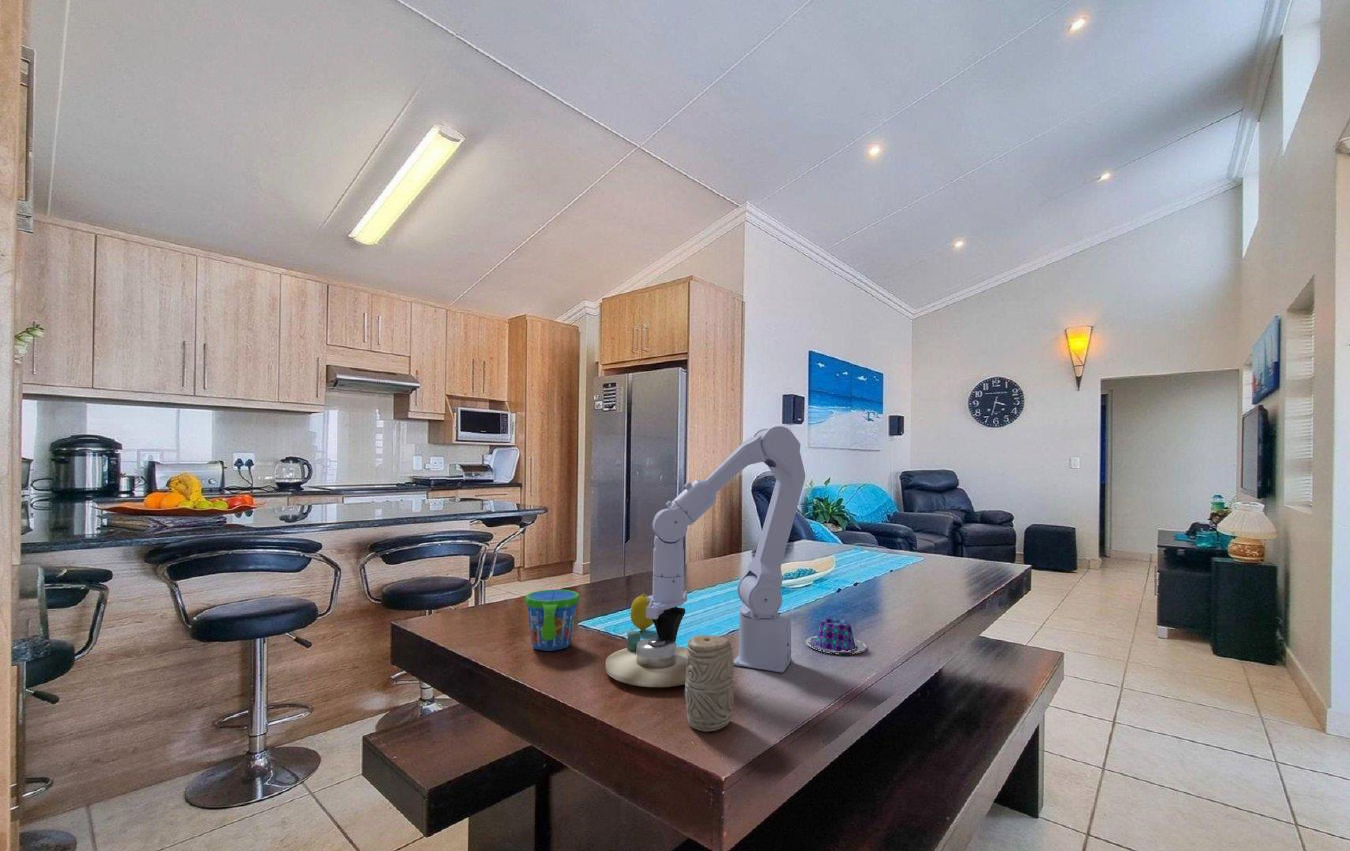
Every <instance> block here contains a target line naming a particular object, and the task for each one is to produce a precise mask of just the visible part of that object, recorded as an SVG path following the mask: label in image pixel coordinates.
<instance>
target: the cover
mask: <svg viewBox="0 0 1350 851" xmlns="http://www.w3.org/2000/svg"><path fill="white" fill-rule="evenodd" d="M676 646H677V643H676V641H675V642H674V641H672V640H668V639H663V638H658V637H653V638H651V637H650V638H646V639H645V638H644V639H640V641H639V642H638V643H637V652H636V663H637V664H638V665H639V666H641V667H644V668H649V669H664V668H669V667H672V666H674V665H675V664H676Z"/></svg>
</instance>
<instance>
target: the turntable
mask: <svg viewBox="0 0 1350 851" xmlns="http://www.w3.org/2000/svg"><path fill="white" fill-rule="evenodd" d="M639 641H641V632H640V631H636V630H635V631H634V630H632V631H628V632H627V643H626V644H627V646H626V647H625V648H621V649H619V650H616V651H615V652H613V653H611V654H610V655H608V656H607V657H606V659H605V672H606V673H607V674H608V676H609V677H611V678H613V679H614V680H616V681H618V682H620V683H621V682H622V683H624V684H627V685H630V686H637V687H646V688H671V687H677V686H682V685H685V682H686V665H687V659H686V657H687V651H688V650H687V647H683V646H678V645H676V664H675V665H674V666H672V667H669V668H664V669H649V668H644V667H641V666H639V665H638V664H637V663H636V652H637V643H638V642H639Z"/></svg>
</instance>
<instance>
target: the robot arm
mask: <svg viewBox="0 0 1350 851" xmlns="http://www.w3.org/2000/svg"><path fill="white" fill-rule="evenodd" d="M801 455H802V454H801V442H800V441H799V440H798V439H797V437H796V435H795V434H794V433H793V432H792V430H790V429H789V428H788V427H785V426H781V425H779V426H777V425H776V426H773V427H772V428H771V427H770V428H763V429H759V430H758V431H756V432H755V433H754V434H753V436H751V437H749V438H747V439H745V441H743V442H742V443H741V444H740V445H739V446H738V447H737V448H736V449H734V451H733V452H731V453H730V455H729V456H728V457H727V458H726V459H725V460H723V462H721V464H719V466H718V467H717V468H715V470H713V471H712V473H710V474H709V475H708V477H707V478H705V479H694V480H693V481H692V482H691V481H687V482H686V483H685V484H684V485H683V486H684V490H682V491H681V492H680V493H679V494H678V495H677V496H676V497H675V498H674V499H673V500H672V501H670V500H668V501H667V502H665V506H666V507H667V508H663V509H660V510H659V511H657V512H656V514H655V515H654V517H653V520H652V522H651V528H652V531H653V532H654V534H655V535H654V539H653V546H654V548H653V550H652V553H653V554H652V595H649V596H648V595H647V596H648V597H647V601H650V604H649V605H648V606H647V607H646V618H649V619H652V621H653V625H654V628H655V630H656V635H657V638H663V639H668V640H672V641H674V642H675V643H676V640H677V636H678V631H679V628H680V625H681V623H682V621H683V618H684V617H685V614H686V609H685V608H683V607H682V605H683V606H684V604H685V603H686V602H688V590H684V578H685V577H684V575H685V574H684V573H685V571H684V570H685V569H684V568H685V567H684V566H685V562H684V561H685V559H684V558H685V550H684V537H685V536H686V534H687V532H688V526H692V525H693V524H694V523H695V522H697V520H698V519H700V518H702V516H703V515H704V514H705V513H706V512H707V511H709V510H710V509H711V508H712V507H713V506H714V505H715V504H716V502H717V494H718V492H719V491H720V490H721V489H722V488H724V486H726V485H727V484H728V483H729V482H730V481H732V480H733V479H734V478H735V477H736V476H738V474H739V473H741V472H742V471H743V470H744V469H745V468H746V467H748V466H750V465H755V464H758V463H763V464H765V465H767V467H768V468H769V470H770V472H771V474H772V475H773V477H774V478H775V483H774V486H773V490H772V495H771V498H770V502H769V505H768V508H767V511H766V516H765V519H764V522H763V526H762V530H761V533H760V537H759V539H758V540H759V541H758V545H757V548H756V550H755V554H754V557H753V559H752V560H751V562H750V563H749V565H748V566H747V569H746V572H745V574H744V575H743V576H742V577H741V579H739V581H738V584H737V588H736V589H737V595H738V597H739V599H740V601H741V602H742V604H741V606H740V608H739V643H738V644H739V646H738V648H739V649H738V650H739V651H738V652H739V653H738V656H736V657H735V658H734V659H733V661H734V666H740V667H745V668H746V667H747V668H752V669H757V670H765V671H771V672H777V673H784V672H786V671H785V670H786V669H787V667H788V666H789V664H790V662H791V661H792V659H793V657H792V622H791V618H789V617H787V616H785V615H784V616H783V615H781V614H779V611H780V609H781V607H782V604H783V596H782V584H783V575H782V563H783V560H784V556H785V552H786V549H787V547H788V542H789V538H790V535H791V531H792V528H793V524H794V521H795V518H796V515H797V514H796V513H797V510H798V506H799V501H800V498H801V495H802V491H803V488H804V484H805V481H806V472H805V467H804V463H803V459H802V456H801Z"/></svg>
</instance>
